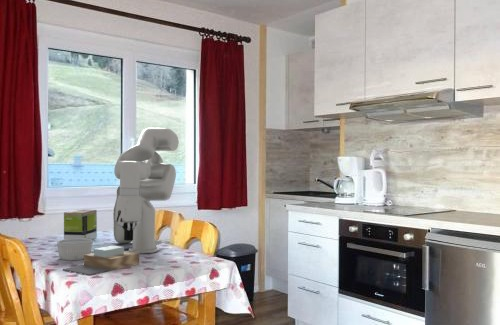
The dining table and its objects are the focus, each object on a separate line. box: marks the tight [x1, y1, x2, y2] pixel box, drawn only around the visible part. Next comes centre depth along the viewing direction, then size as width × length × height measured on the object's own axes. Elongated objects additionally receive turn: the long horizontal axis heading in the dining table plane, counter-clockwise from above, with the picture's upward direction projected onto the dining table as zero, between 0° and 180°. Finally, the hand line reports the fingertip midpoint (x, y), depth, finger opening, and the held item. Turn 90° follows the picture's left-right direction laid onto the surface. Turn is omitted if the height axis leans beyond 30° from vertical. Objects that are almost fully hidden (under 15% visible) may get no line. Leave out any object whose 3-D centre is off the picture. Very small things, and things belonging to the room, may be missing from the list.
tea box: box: [63, 209, 98, 240], centre depth 226 cm, size 15×10×15 cm
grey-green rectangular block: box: [93, 245, 125, 257], centre depth 168 cm, size 9×6×2 cm, turn 149°
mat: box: [62, 264, 112, 276], centre depth 159 cm, size 9×14×1 cm, turn 59°
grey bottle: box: [112, 185, 132, 245], centre depth 218 cm, size 10×10×28 cm
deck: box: [83, 250, 140, 271], centre depth 169 cm, size 14×14×4 cm
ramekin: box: [56, 239, 94, 261], centre depth 181 cm, size 13×13×7 cm
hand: (128, 240), depth 176 cm, fingers closed
